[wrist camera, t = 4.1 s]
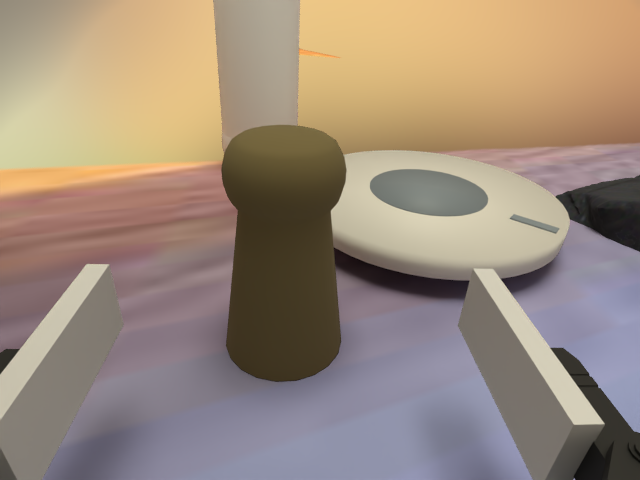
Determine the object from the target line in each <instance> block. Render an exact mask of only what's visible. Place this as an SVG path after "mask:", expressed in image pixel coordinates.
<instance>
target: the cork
mask: <svg viewBox="0 0 640 480" xmlns="http://www.w3.org/2000/svg"><path fill="white" fill-rule="evenodd" d="M346 171H347V169H346V163H345V157H344V155H343V153H342V151H341V149H340V147H339V145H338V143H337V141H336V140H335V139H333V138H332V137H330V136H329V135H327V134H326V133H324V132H322V131H319V130H316V129H312V128H308V127H303V126H295V125H269V126H261V127H255V128H251V129H248V130H245V131H243V132H241V133H240V134H238V135H237V136H235V137H234V138H232V139H231V141H230V143H229V145H228V146H227V148H226V150H225V154H224V158H223V164H222V180H223V185H224V188H225V191H226V193H227V196H228V198H229V199H230V201H231V203H232V204H233V205H234V206H235V207H236V209H237V210H238V215H237V227H236V238H235V250H234V261H233V273H232V284H231V296H230V307H229V319H228V330H227V342H226V347H227V349H228V352H229V355H230V358H231V359H232V360H233V361H234V362H235V363H236V365H237V366H238V367H239V368H240V369H241V370H243V371H245V372H247V373H249V374H251V375H253V376H255V377H257V378H262V379H267V380H272V381H294V380H299V379H302V378H306V377H309V376H312V375H315V374H317V373H318V372H320V371H321V370H323V369H324V368H326V367H327V366H329V365H330V363H331V362H332V361H333V359H334V358H335V357H336V355H337V354H338V351H339V347H340V343H341V334H340V321H339V309H338V296H337V283H336V271H335V258H334V246H333V233H332V220H331V210H332V209H333V208H334V207H335V205H336V204H337V203H338V201H339V199H340V197H341V194H342V191H343V188H344V185H345V181H346Z"/></svg>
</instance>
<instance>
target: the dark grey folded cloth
mask: <svg viewBox="0 0 640 480" xmlns="http://www.w3.org/2000/svg"><path fill="white" fill-rule="evenodd" d="M556 198H557V199H558V200H559V201H560V202H561V203H562V204H563V206H564V207H565V209H566V211H567V212H568V215H569V219H571V220H573V221H575V222H578V223H580V224H583V225H585V226H588V227H590V228H592V229H594V230H596V231H597V232H599V233H600V234H602V235H603V236H605V237H606V238H609V239H611V240H613V241H616V242H618V243H620V244H622V245H625V246H627V247H630V248H633V249H635V250H637V251H640V175H639V176H637V177H635V178H624V179H619V180H613V181H607V182H601V183H598V184H592V185H590V186H585V187H582V188H578V189H575V190H573V191H567V192H565V193H564V194H561V195H557V196H556Z"/></svg>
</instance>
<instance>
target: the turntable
mask: <svg viewBox="0 0 640 480" xmlns="http://www.w3.org/2000/svg"><path fill="white" fill-rule="evenodd" d="M344 157H345V163H346V169H347V171H346V181H345V185H344V188H343V191H342V194H341V197H340V199H339V201H338V203H337V204H336V205H335V207H334V208H333V209H332V210H331V220H332V233H333V246H334V248H336V249H338V250H340V251H342V252H344V253H346V254H348V255H350V256H352V257H354V258H357V259H359V260H362V261H364V262H367V263H370V264H373V265H376V266H379V267H382V268H385V269H389V270H393V271H397V272H401V273H406V274H410V275H416V276H422V277H428V278H436V279H447V280H469V281H470V278H471V274H472V271H473V269H494V271H495V272H496V273H497V275H498V276H499V278H500V279H502V278H508V277H514V276H518V275H522V274H526V273H529V272H532V271H534V270H536V269H539V268H541V267H543V266H545V265H546V264H548V263H549V262H551V261H552V260H553V259H554V258H555V257H556V256H557V255H558V254H559V251H560V249H561V247H562V245H563V242H564V240H565V237H566V234H567V232H568V229H569V223H570V219H569V215H568V212H567V211H566V209H565V207H564V206H563V204H562V203H561V202H560V201H559V200H558V199H557V198H556V197H555V196H553V195H552V194H551V193H550V192H549V191H547V190H545V189H544V188H542V187H541V186H539V185H538V184H536V183H534V182H532V181H530V180H528V179H526V178H524V177H522V176H520V175H517V174H515V173H512V172H510V171H507V170H505V169H502V168H499V167H496V166H493V165H489V164H486V163H482V162H478V161H474V160H470V159H466V158H461V157H456V156H451V155H444V154H438V153H429V152H419V151H403V150H383V151H382V150H381V151H366V152H357V153H351V154H346V155H344Z"/></svg>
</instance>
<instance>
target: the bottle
mask: <svg viewBox="0 0 640 480" xmlns="http://www.w3.org/2000/svg"><path fill="white" fill-rule="evenodd" d="M213 2H214V16H215V30H216V45H217V57H218V58H217V59H218V73H219V88H220V102H221V116H222V145H223V151H224V154H225V150H226V148H227V146H228V145H229V143H230V141H231V139H232V138H234V137H235V136H237V135H238V134H240V133H241V132H243V131H245V130H248V129H251V128H255V127H261V126H269V125H295V126H297V125H298V124H297V123H298V66H299V15H300V13H299V12H300V0H213Z"/></svg>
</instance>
